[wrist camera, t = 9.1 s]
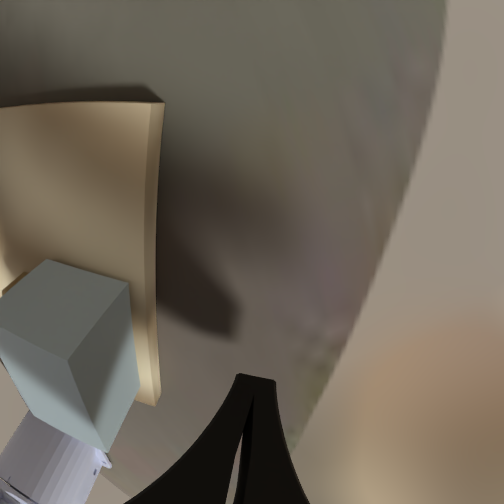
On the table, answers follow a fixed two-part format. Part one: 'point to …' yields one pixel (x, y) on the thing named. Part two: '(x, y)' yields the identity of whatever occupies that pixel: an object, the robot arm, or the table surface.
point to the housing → (71, 350)
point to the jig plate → (86, 202)
